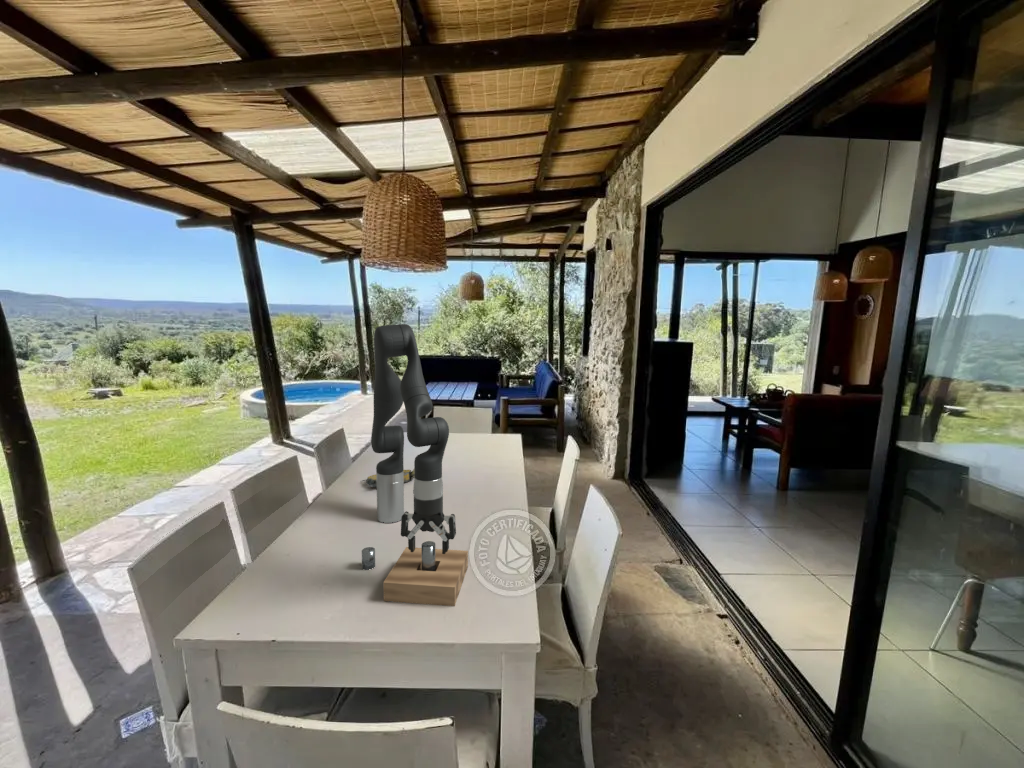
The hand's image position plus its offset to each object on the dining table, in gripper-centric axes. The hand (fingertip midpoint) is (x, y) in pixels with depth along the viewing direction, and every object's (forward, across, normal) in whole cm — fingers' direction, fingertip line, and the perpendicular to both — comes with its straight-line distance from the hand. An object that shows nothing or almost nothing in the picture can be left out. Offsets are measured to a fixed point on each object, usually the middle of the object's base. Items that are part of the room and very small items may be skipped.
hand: (428, 551), depth 119 cm
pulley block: (+10, +33, -73) cm, 81 cm away
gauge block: (+9, 0, 0) cm, 9 cm away
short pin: (+9, +19, -6) cm, 22 cm away
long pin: (+9, 0, 0) cm, 9 cm away
